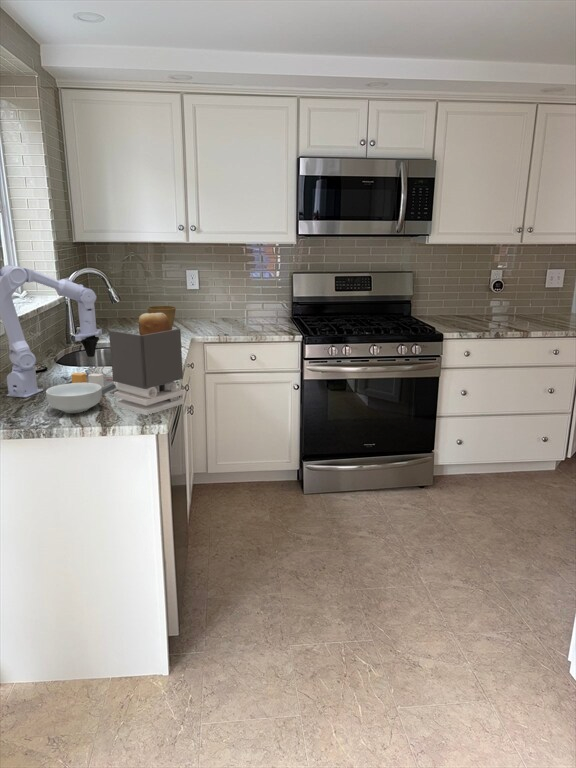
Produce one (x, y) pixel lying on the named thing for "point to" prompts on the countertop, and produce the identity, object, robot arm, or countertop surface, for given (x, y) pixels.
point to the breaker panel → (101, 381)
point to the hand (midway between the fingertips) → (91, 356)
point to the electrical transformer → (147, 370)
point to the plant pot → (167, 310)
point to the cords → (110, 391)
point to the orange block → (79, 378)
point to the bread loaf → (153, 323)
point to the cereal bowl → (74, 396)
